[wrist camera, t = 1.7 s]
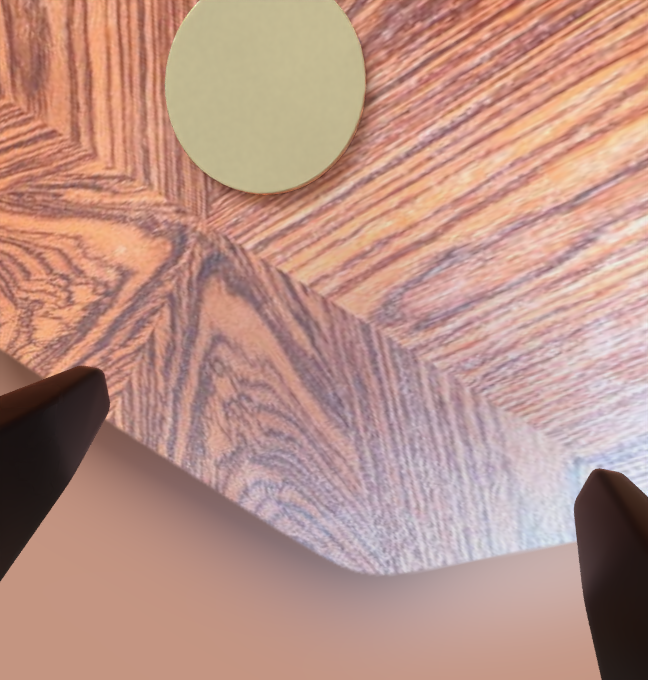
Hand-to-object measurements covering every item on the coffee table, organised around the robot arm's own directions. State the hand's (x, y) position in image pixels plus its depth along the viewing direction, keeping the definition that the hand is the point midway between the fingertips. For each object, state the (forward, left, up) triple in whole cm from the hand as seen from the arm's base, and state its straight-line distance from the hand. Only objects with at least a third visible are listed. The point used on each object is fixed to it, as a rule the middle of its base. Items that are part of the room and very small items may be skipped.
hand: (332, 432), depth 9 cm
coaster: (+12, +1, -14) cm, 18 cm away
